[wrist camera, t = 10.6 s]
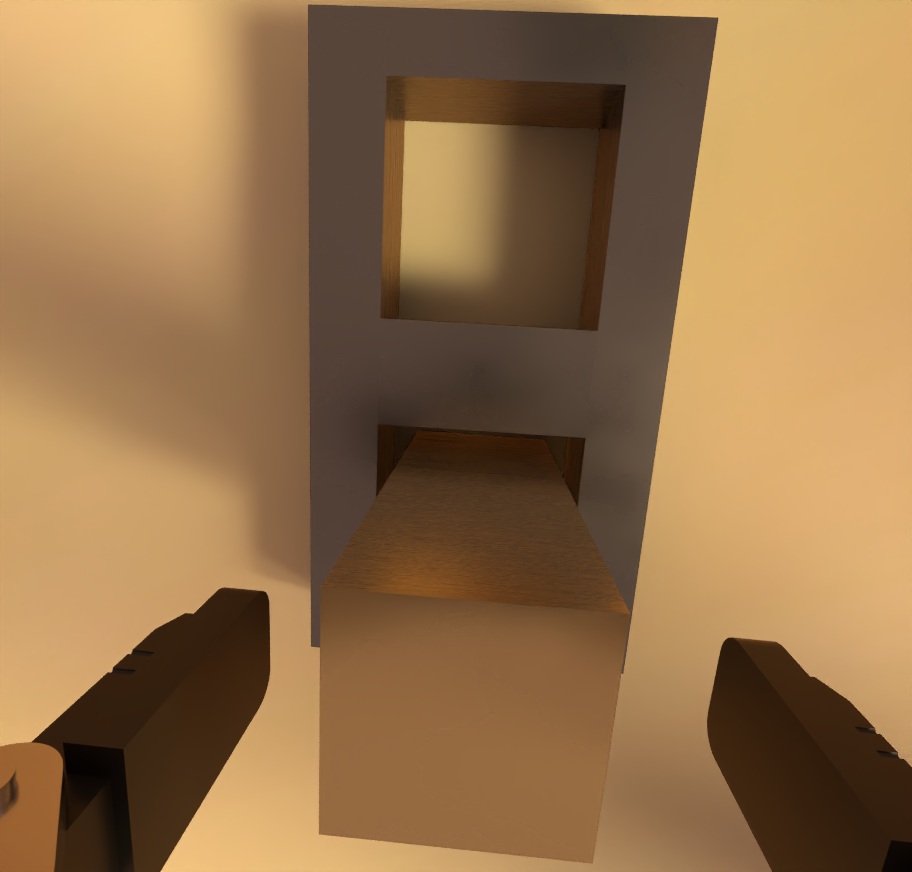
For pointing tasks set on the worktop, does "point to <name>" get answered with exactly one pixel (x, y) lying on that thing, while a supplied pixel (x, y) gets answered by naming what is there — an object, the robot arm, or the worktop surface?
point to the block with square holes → (486, 345)
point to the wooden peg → (470, 658)
